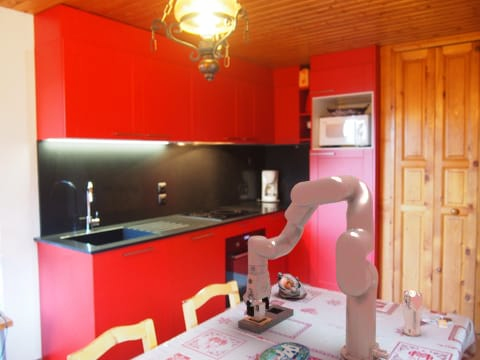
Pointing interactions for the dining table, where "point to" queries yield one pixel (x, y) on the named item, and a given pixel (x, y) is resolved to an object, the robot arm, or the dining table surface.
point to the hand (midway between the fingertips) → (258, 312)
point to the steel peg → (259, 312)
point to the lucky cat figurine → (290, 286)
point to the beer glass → (412, 312)
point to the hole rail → (267, 319)
